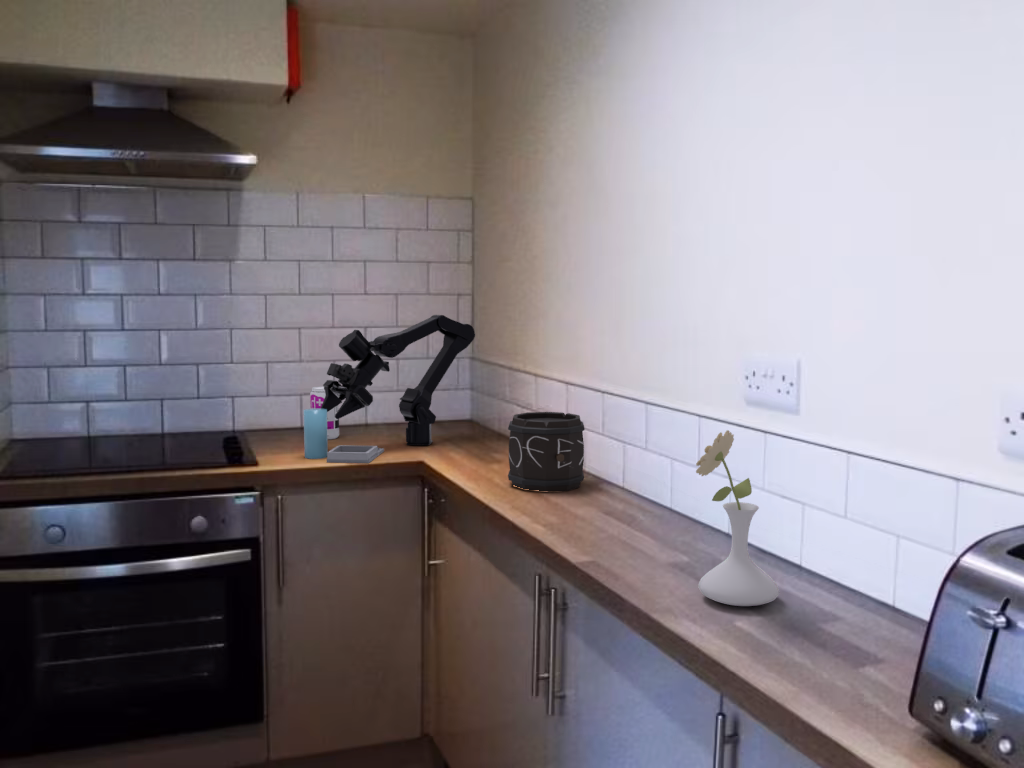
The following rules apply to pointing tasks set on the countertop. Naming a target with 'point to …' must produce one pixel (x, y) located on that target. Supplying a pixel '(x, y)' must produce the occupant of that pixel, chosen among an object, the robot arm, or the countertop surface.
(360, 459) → the kitchen sink with drainboard
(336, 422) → the supplement can
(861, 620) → the countertop surface
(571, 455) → the wooden barrel
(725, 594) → the flower in vase
